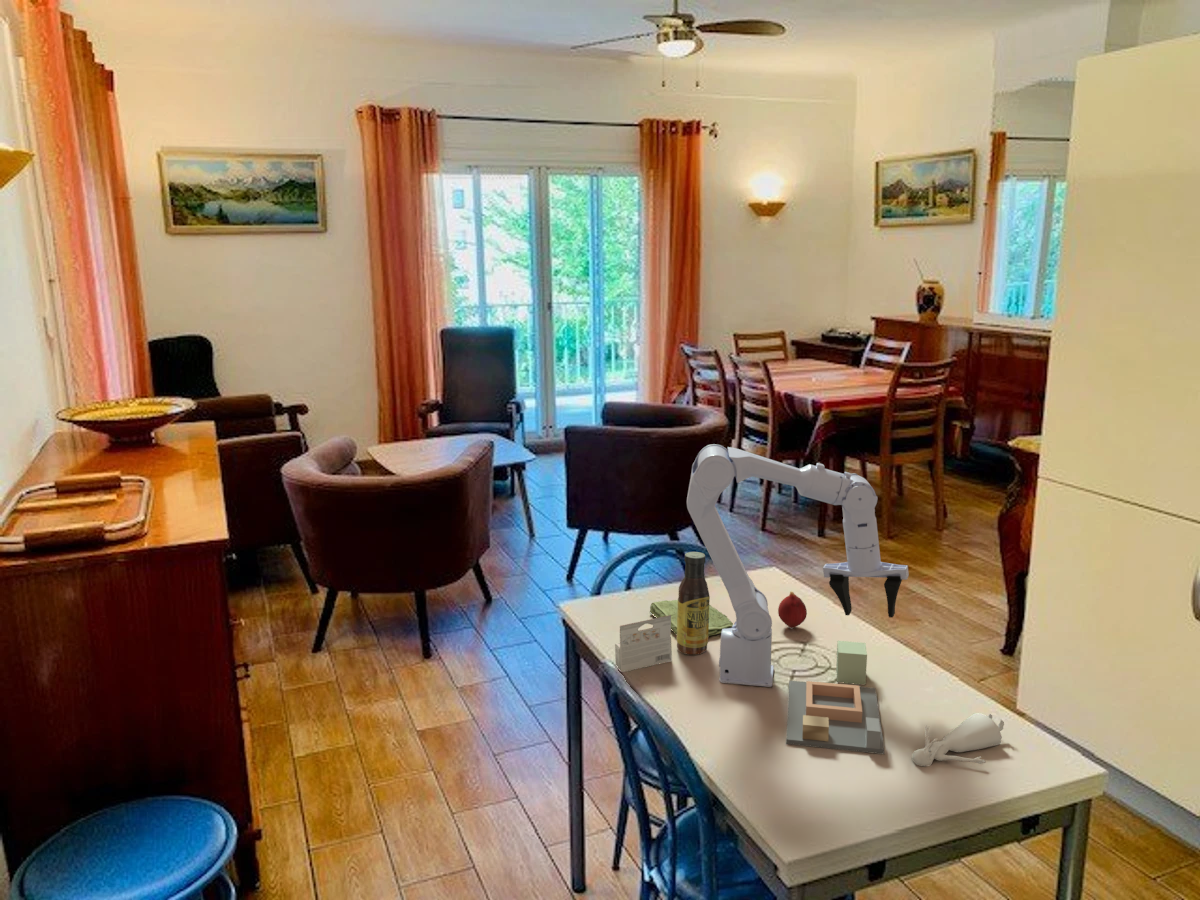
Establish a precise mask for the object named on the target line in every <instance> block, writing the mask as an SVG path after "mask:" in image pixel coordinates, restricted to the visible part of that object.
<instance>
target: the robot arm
mask: <svg viewBox="0 0 1200 900" xmlns="http://www.w3.org/2000/svg"><path fill="white" fill-rule="evenodd" d="M752 477H754V478H758V479H760V480H761V479H762V480H767V481H770V482H775V483H778V484H783V485H788V486H792V487H795V489H796V490H797V493H798V494H799V495H800V496H801V497H804V498H808V499H812V500H815V501H819V502H822V503H826V504H830V505H833V506H841V508H842V509H841V510H842V517H843V519H842V528H843V533H844V534H843V536H844V543H845V545H844V546H845V553H846V554H845V555H846V560H847V561H845V562H836V563H825V564H824V565H823V567H822V571H823V577H824V578H829V582H828V584H829V587H830V589H832V590H833V592H834V593H835V595H836V596H837V598H838V600H839V602H840V604H841V607H842V608H843V611H844V615H845V616H850V614H851V612H852V601H851V595H850V579H849V578H850V577H852V578H854V577H856V578H857V577H858V578H886V579H885V581H884V584H883V587H884V590H885V595H886V601H887V614H888V618H894V616H895V614H896V602H897V597H898V593H899V590H900V587H901V584H902V582H903V581H904V580H908V578H909V575H910V574H909V565H905V564H896V563H889V562H883V561H881V551H880V542H879V533H878V523H877V517H876V513H875V512H876V509H875V508H876V506H877V503H878V495H877V494H876V491H875V489H874V488H873V486H871V484H870V483H869V480H867V479H866V478H865V477H863V476H860V475H858V474H857V473H855V472H854V473H851V472H847V471H844V473H842V472H838V471H835V470H831V469H828V468H825V465H824V464H823V463H820V462H816V465H814V464H810V463H809V464H807V465H805V466H803V467H799V468H798V467H796V466H793V465H789V464H786V463H784V462H780V461H777V460H774V459H771V458H768V457H765V456H761V455H759V454H756V453H752V452H749V451H746V450H743V449H739V448H738V447H737V448H736V447H733V446H730V447H729V446H727V448H726V447H724V445H721V444H718V443H717V444H715V443H713V444H707V445H706V446H704V447H703V448H702V449H701V450H700V451H699V452H698V453H697V455H696V457H695V460H694V462H693V463H692V465H691V473H690V479H689V484H688V490H687V497H686V509H687V511H688V513H689V515H690V518H691V519H692V521H693V525H695V527H696V530H697V532H698V534H699V536H700V538H701V540H702V542H703V544H704V546H705V548H706V551H707V552H708V554H709V556H710V558H711V560H712V563H713V565H714V567H715V569H716V571H717V573H718V575H719V577H720V578H721V582H722V583H723V586H724V587H725V589H726V591H727V594H728V597H729V599H730V603H731V606H732V608H733V611H734V613H735V618H736V620H735V622H734V623H733V626H732V628H727V629H722V632H721V633H720V644H719V647H720V648H719V651H720V652H719V661H718V666H719V682H720V683H722V684H734V685H743V686H745V685H746V686H755V687H756V686H757V687H768V688H771V687H772V686H773V681H774V679H773V678H774V670H775V669H774V665H773V664H772V641H773V640H772V639H773V638H772V636H773V635H772V634H773V629H772V627H773V626H772V625H773V621H772V617H771V615H770V612H769V607H768V605H769V603H768V599H767V597H766V595H765V594H764V593H763V592H762V591H761V590H760V589H758V588H757V587H756V585H755V584H754V582H753V580H752V579H751V578H750V575H748V571H747V570H746V568H745V566H744V563H743V562H742V560H741V557H740V555H739V553H738V551H737V549H736V547H735V545H734V542H733V541H732V539H731V536H730V535H729V532H728V530H727V528H726V526H725V524H724V522H723V520H722V518H721V516H720V514H719V511H718V509H717V507H716V504H717V501H718V499H719V498H720V495H721V494H722V493H723V492H724V491H725V490H726V489H727V488H728V487H729V486H730V484H732V482H733V480H734V478H735V480H736V483H737V484H738V483H742V482H743V481H745V480H747V479H750V478H752Z"/></svg>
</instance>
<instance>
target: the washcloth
mask: <svg viewBox="0 0 1200 900" xmlns="http://www.w3.org/2000/svg"><path fill="white" fill-rule="evenodd" d="M649 608H650V609H649V613H650V612H651V613H652V614H654V616H656V617H657V618H659V617H664V616H669V615H671V629H672V630H673V631H674V632H675V633H674V632H673V633H674V635H676V634H677V612H678V599H673V600H662V601H659V600H658V601H654V602H652V603H651V604H650V607H649ZM733 625H734V623H733V622H732V621H731V620H730V619H729V618H728V616H727V615H726V614H723V613H722V612H721V611H720V610H718V609H716V608H715V607H713V606H712V605H711V604H709V629H708V637H711V636H715V635H718V634H721V632H722V629H727V628H732V626H733Z"/></svg>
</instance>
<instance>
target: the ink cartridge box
mask: <svg viewBox="0 0 1200 900" xmlns="http://www.w3.org/2000/svg"><path fill="white" fill-rule="evenodd" d="M647 624H648V625H651V626H652V627H651V628H645V629H640V628H641V627H642V626H644V625H647ZM639 629H640V630H639ZM671 632H672V631H671V615H669V616H664V617H659V618H655V617H654V618H651V619H646V620H641V621H636V622H632V623H627V624H622V625H620V626H619V643H617V642H616V643H614V653H615V666H616V665H617V666H618V668H619V669H620V670H621V671H622V673H625V672H629V671H635V670H638V668H639V669H643V668H642V667H644V668H647V667H646V666H648V667H651V665H652V666H656V665H655V664H657V665H660V664H659V663H661V664H664V662H666V663H669V662H672V661H673V660H672V658H673V657H672V656H673V655H672V637H671ZM634 669H635V670H634Z"/></svg>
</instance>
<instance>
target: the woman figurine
mask: <svg viewBox="0 0 1200 900" xmlns="http://www.w3.org/2000/svg"><path fill="white" fill-rule="evenodd" d="M927 726H928V727H927ZM1004 726H1005V722H1004V721H1003V720H1002V719H1000V721H999V724H997V723H996V722H995V721H994V720H993V715H992V714H991V713H989V714H988V716H987V715H986V714H983V713H981V712H977V713H972V714H971V715H970V716H969V717H967V718H966V719H964V720H963V721H962V722H961V723H960V724H959V725H958V726H956V727H955V728H954V729H953V730H951V731H950V732H948V733H947V734H946V735H945V736H943V739H942V740H938V739H939V738H934V739H933V740H931V741H930V737H929V729H930V726H929V725H925V738H924V739H925V740H924V741H925V743H924V744H925V746H924V747H921V748H920V749H919V748H918V749H917V750H914V751H913V753H912V755H911V760H912V761H913V762H914V763H915V765H918V766H921V767H929V766H931V765H932V763H933V761H934V760H936V761H940V762H941V761H959V762H971V763H978V764H984V763H986V759H982V756H977V757H975V758H967V757H963V756H962V757H961V756H957V755H949V754H948V755H947V754H946V753H948V752H949V751H950V752H956V753H964V752H969V751H977V749H978V750H982V749H986V748H991V747H995V746H999V745H1000V744H1001V741H1002V739H1003V737H1002V734H1001V731H1003V730H1004Z"/></svg>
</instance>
